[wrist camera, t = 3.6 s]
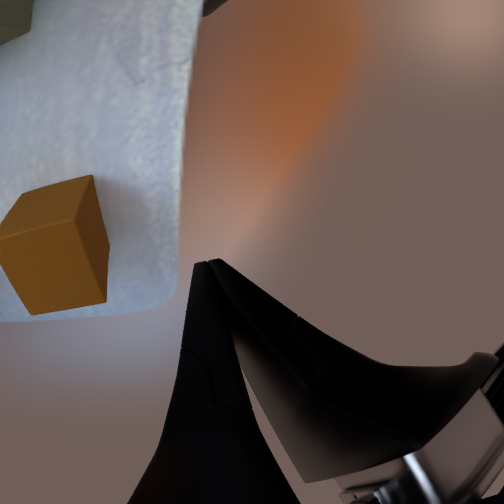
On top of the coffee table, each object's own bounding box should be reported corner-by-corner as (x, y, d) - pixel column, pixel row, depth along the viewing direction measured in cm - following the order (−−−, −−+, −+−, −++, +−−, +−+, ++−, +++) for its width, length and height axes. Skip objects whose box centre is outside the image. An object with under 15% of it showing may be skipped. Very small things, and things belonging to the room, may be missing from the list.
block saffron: (92, 173, 10) (75, 218, 7) (110, 245, 13) (107, 303, 10) (21, 193, 9) (-12, 242, 6) (46, 259, 11) (30, 316, 8)
